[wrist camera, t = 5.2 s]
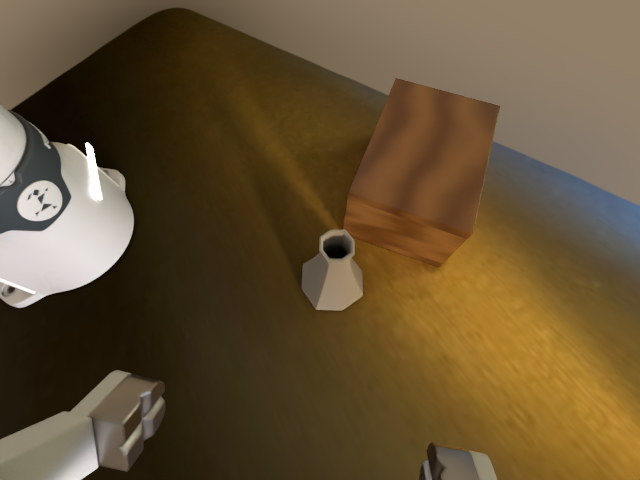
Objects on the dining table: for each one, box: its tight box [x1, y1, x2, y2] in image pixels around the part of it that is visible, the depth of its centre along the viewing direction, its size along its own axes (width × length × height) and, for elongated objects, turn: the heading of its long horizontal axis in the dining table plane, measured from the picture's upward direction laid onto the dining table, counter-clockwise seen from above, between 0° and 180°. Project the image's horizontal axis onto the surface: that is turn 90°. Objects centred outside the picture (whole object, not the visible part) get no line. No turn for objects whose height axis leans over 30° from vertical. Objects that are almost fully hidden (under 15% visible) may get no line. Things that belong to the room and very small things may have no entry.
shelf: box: [343, 78, 500, 267], centre depth 38 cm, size 12×17×9 cm
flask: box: [301, 229, 363, 311], centre depth 32 cm, size 7×7×10 cm
